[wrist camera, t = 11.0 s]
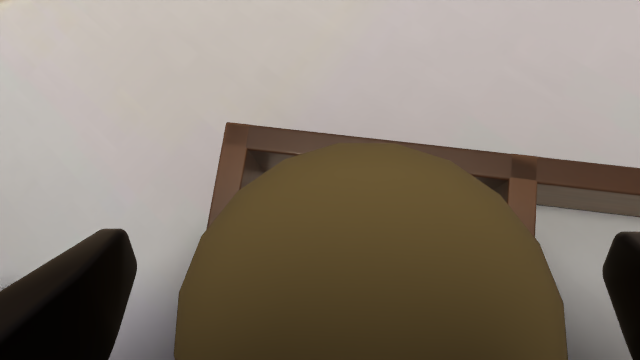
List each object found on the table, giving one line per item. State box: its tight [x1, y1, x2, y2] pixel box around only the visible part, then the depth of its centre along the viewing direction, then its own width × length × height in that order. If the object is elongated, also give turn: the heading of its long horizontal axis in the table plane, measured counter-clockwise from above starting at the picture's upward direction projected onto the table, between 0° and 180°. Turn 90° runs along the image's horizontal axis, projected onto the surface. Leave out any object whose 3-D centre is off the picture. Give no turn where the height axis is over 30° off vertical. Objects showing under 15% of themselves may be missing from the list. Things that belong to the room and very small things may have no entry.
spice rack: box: [207, 122, 640, 238], centre depth 14 cm, size 9×18×3 cm, turn 82°
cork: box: [174, 143, 568, 360], centre depth 10 cm, size 6×6×11 cm
